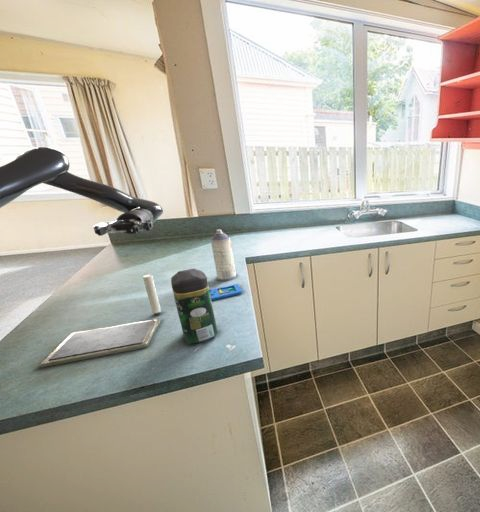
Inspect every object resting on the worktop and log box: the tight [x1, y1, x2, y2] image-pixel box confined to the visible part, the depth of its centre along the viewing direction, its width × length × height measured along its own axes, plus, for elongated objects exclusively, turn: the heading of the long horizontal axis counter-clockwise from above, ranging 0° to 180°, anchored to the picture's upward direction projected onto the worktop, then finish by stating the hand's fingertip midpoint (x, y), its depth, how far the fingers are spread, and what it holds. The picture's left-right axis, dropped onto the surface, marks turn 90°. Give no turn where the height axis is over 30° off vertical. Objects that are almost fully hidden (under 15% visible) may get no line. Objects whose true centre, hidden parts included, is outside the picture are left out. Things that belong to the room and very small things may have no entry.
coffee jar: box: [170, 268, 218, 344], centre depth 79 cm, size 10×8×19 cm
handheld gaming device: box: [209, 283, 243, 301], centre depth 106 cm, size 8×1×15 cm
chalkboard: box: [40, 318, 162, 368], centre depth 78 cm, size 20×14×1 cm
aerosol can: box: [210, 229, 237, 282], centre depth 118 cm, size 7×7×20 cm
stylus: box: [142, 274, 162, 317], centre depth 90 cm, size 2×2×13 cm
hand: (116, 231), depth 91 cm, fingers open, 8 cm apart
